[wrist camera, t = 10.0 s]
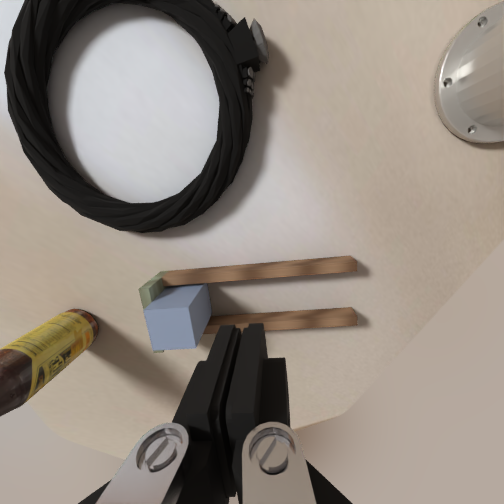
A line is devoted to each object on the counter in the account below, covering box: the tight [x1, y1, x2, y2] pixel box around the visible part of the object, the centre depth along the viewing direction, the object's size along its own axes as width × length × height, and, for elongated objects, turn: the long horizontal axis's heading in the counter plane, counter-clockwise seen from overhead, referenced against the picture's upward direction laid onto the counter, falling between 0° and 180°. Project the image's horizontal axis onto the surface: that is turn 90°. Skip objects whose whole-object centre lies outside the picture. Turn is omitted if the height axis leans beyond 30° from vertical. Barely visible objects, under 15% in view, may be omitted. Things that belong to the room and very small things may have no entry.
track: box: [139, 256, 357, 353], centre depth 32 cm, size 25×8×6 cm, turn 96°
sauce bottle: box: [0, 309, 98, 416], centre depth 28 cm, size 6×6×20 cm
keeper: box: [143, 283, 212, 351], centre depth 32 cm, size 5×5×8 cm
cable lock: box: [4, 0, 269, 233], centre depth 28 cm, size 28×4×30 cm
